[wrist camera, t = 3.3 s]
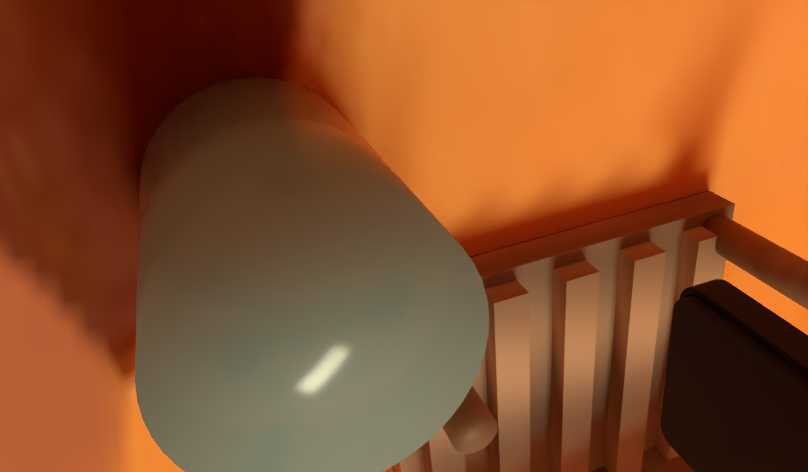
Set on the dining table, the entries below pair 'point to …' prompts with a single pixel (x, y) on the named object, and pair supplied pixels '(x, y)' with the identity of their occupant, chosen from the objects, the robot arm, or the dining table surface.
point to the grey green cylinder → (293, 291)
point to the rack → (593, 340)
